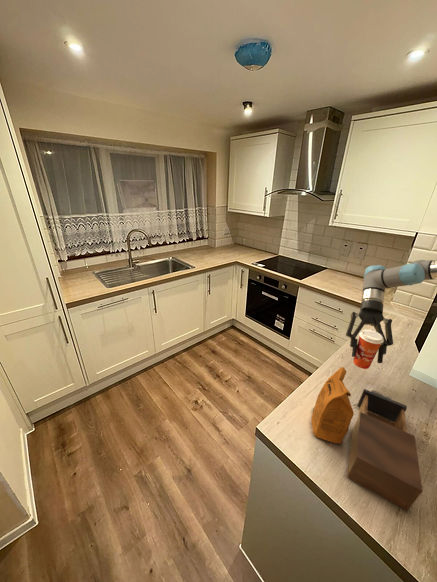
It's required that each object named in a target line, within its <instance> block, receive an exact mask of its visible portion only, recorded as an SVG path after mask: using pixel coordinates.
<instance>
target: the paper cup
mask: <svg viewBox="0 0 437 582" xmlns="http://www.w3.org/2000/svg"><path fill="white" fill-rule="evenodd" d="M358 336H359V338H358V342H357V351H356V356H355V357H353V361H352V362H353V364H354V365H355V366H356V367H357V368H360V369H362V370H368V369H369V368H370V367H371V365H372V363H373V362H374V359H375V357H376V355H377V354H378V349H379V347H380V345H381V343H383V341H384V340H383V337H382V335H381V334H379V333H378V332H376V330H373V329H367V328H365V329H361V331H360V332H359V333H358Z"/></svg>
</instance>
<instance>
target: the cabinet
mask: <svg viewBox="0 0 437 582" xmlns="http://www.w3.org/2000/svg"><path fill="white" fill-rule="evenodd" d="M350 437H351V438H350V447H349V456H348V464H347V465H348V466H347V475H346V477H347V478H348V479H349V480H351V481H353V482H355V483H357V484H358V485H360V486H362V487H364V488H365V489H366V490H369V491H370V492H373V493H374V494H376V495H378V496H379V497H381V498H383V499H384V500H387V501H388V502H390V503H392V504H393V505H395V506H397V507H399V508H401V509H402V510H404V511H406V512H408V511H409V510H410V508H411V507H412V506H413V504H414V503H415V502H416V501H417V500H418V498H419V497H420V496H421V494H422V493H423V484H422V478H421V471H420V464H419V457H418V450H417V443H416V436H415V435H414V434H412V433H409V432H408V431H407V432H405V431H403V430H400V429H398V428H396V427H394V426H391V425H389V424H387V423H384V422H382V421H380V420H378V419H375V418H373V417H371V416H368V415H366V414H364V413H362V412H360V414H359V413H358V417H357V419H356V422H355V424H354V426H353V428H352V431H351V436H350Z"/></svg>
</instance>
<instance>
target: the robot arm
mask: <svg viewBox="0 0 437 582" xmlns="http://www.w3.org/2000/svg"><path fill="white" fill-rule="evenodd" d="M431 280H433V281H434V280H437V259H428V260H426V259H420V260H414V261H412V262H408V263H406V264H402V265H399V266H395V267H390V268H386V267H385V266H383V265H379V264H377V265H374V264H373V265H369V266H367V267H366V268H365V270H364V274H363V282H362V283H363V284H362V293H361V302H360V309H359V312H355V311H352V312H351V313H350V321H349V324H348V326H347V330H346V333H345V336H346V337H348V338H349V339H350V341H349V342H350V343H349V347H350V348H352V349H351V350H352V351H351V357H352V358H354V357H355V356H356V351H357V344H358V341H359V338H357V337H358V336H359V333H360V332H361V331H362V330H363V327H364V326H365V325H366V326H370V327H373V328H374V331H376V332H378V333H379V334H381V335H382V337H383V340H384V341H383V343H381V345H380V347H379V349H378V351H377V364H383V362H384V361H383V360H384V356H385V355H387V348H388V347H390V346H392V345H394V338H393V330H392V323H393V319H392V318H386V317H384V302H385V291H386V289H391V288H398V287H407V286H413V285H418V284H422V283H423V282H424V281H431ZM358 317H359V319H360V322H359V324H358V325H357V327H356V329H355V330H354V331H353V329H354V326H355V323H356V319H358ZM381 322H383V324H384V331H383V328H382V325H381ZM352 332H353V333H352Z"/></svg>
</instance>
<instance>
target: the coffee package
mask: <svg viewBox="0 0 437 582" xmlns="http://www.w3.org/2000/svg"><path fill="white" fill-rule="evenodd" d="M346 375H347V370H346V368H345V367H343V366H341V367H339V368H338V369H337V370H336V371H335V372H334V373H333V374H332V375H331V376H330V377H329V378H328V379H327V380H325V382H324V384H323V386H322V387H321V389H320V390H319V393H318V395H317V398H316V400H315V404H314V406H313V409H312V414H311V427H312V432H313V436H314V437H316V438H318V439H320V440H324V441H328V442H330V443H334V444H342V443H343V440H344V438H345V437H346V435H347V434H348V432H349V427H350V425H351V421H352V419H353V417H354V414H355V412H354V409H353V407H352V404H351V401H350V397H352V394H351V392H350V391H349V390H348V388H347V386H346V385H345V383H344V380H345V377H346Z"/></svg>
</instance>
